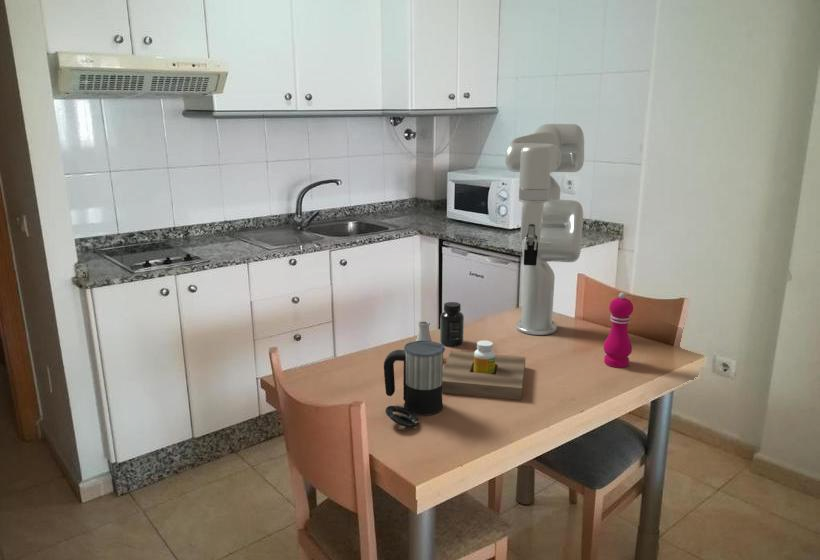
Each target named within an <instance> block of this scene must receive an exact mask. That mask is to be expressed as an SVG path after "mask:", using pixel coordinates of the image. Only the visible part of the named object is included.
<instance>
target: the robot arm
mask: <svg viewBox="0 0 820 560" xmlns="http://www.w3.org/2000/svg"><path fill="white" fill-rule="evenodd" d="M504 161H505V166H506V167H507V169H508V170H509V171H510V172H513V173H519V181H518V182H519V183H518V184H519V187H518V201H519V202H521V203H522V204H521V205H522V207H521V216H520V217H521V218H520V219H521V220H520V237H519V238H520V239H519V240H520V241H521V250H522V252H521V253H522V263H523V264H522V265H523V266H522V267H523V269H522V291H521V293H522V294H521V296H522V297H521V314H520V316H521V319H520V320H519V321H517V322H516V323H515V328H516V330H517V331H519V332H521V333H523V334H528V335H532V336H533V335H534V336H544V335H545V336H547V335H550V334H554V333H555V332H556V331H557V329H558V328H557V327H558V326H557V324H556V323H554V322H553V313H554V312H553V311H554V310H553V309H554V296H555V295H554V293H555V272H554V270H553V269H552V267H551V265H549V263H548V262H555V263H556V262H558V263H574V262H576V261H578V260H579V258H580V256H581V251H582V240H583V238H582V237H583V227H584V226H583V224H584V210H583V206H582V204H581V203H580V202H579V201H577V200H572V199H560V198H561V187H560V185H559V183H558V181H556V180H555V178H554V177H553V176H552V175H551V173H577V172H579V171H581V169H582V168H583V166H584V162H585V136H584V132H583V130H582V128H581V126H580V125H578V124H576V123H547V124H542V125H540V126H539V127H538V128H536V130H535V131H534V133H530V134H528V135H523V136H519V137H516V138H514V139H512V141H510V143H509V145H508V147H507V149H506V152H505V160H504Z"/></svg>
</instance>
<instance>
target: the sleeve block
mask: <svg viewBox="0 0 820 560" xmlns="http://www.w3.org/2000/svg"><path fill="white" fill-rule="evenodd" d="M526 359H527V357H526V356H519V355H507V354H496V353H495V374H486V373H474V352H468V351H456V350H455V351H454V350H451V351H450V353H449V355H448V357H447V359H446V362H445V364H444V365H443V377H442V394H443V393H446V394H455V395H468V396H475V397H487V398H498V399H499V398H500V399H509V400H519V401H521V400H522V398H523V397H522V396H523V388H524V379H525V371H526Z"/></svg>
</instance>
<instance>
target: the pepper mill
mask: <svg viewBox="0 0 820 560" xmlns="http://www.w3.org/2000/svg"><path fill="white" fill-rule="evenodd" d="M626 296H627V294H626V293H625V292H619V294H618V297H616V298H614V299H612V300H611V302H610V303H609V308H608V309H609V312H610V313H611V314H610V321H611V329H610V332H609V334H608V336H607V338H606V339H605V341H604V343H603V351H604V354H605V356H604V360H603V362H604V364H605V365H606V366H609V367H612V368H618V369H619V368H620V369H622V368H626V367H628V366H629V364H630V358H629V356H630V355H631V354H632V352H633V348H632V347H633V345H632V342H631V339H630V336H629V331H628V330H629V329H628V326H629V324H630V323H631V316H630V315H632V313H633V312H634V304H633V302H632V300H630V299H628V298H627V297H626Z"/></svg>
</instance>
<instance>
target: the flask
mask: <svg viewBox="0 0 820 560" xmlns="http://www.w3.org/2000/svg"><path fill="white" fill-rule="evenodd" d="M417 324H418V332H417V337H416V340H415V341H432V337H431V334H430V324H431V322H430V321H428V320H421V321H418V322H417Z"/></svg>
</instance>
